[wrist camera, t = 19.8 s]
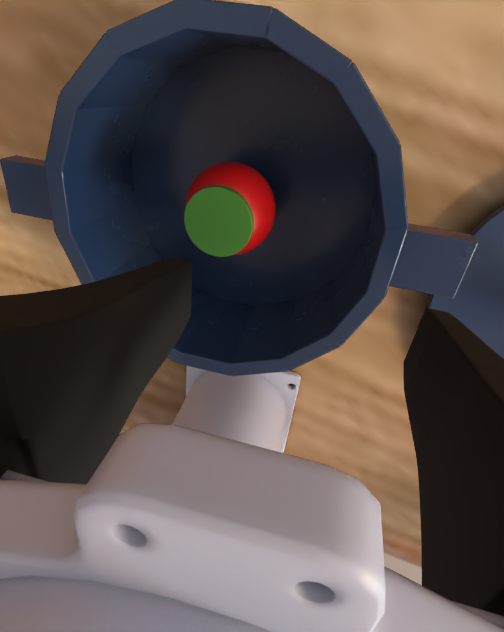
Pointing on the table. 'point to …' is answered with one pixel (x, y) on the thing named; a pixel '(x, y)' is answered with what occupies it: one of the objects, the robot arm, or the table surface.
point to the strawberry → (229, 209)
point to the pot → (247, 148)
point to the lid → (482, 286)
